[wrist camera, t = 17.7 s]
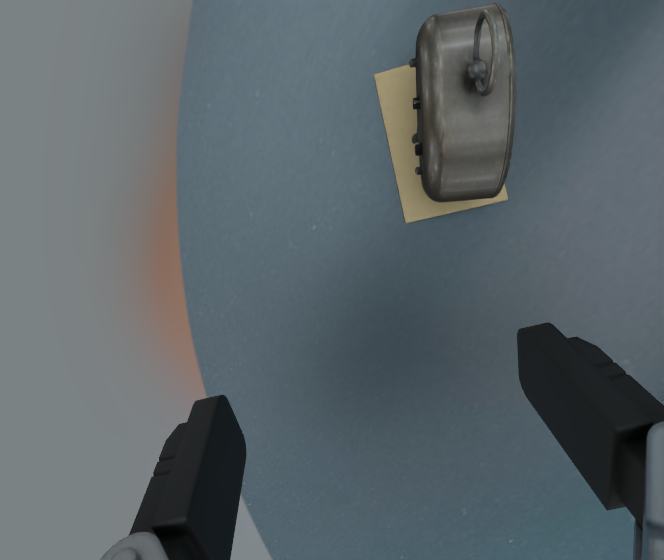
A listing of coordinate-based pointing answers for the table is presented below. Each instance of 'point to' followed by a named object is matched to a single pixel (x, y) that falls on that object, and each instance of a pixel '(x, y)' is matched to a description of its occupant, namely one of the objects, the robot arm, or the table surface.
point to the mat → (412, 147)
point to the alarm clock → (464, 103)
